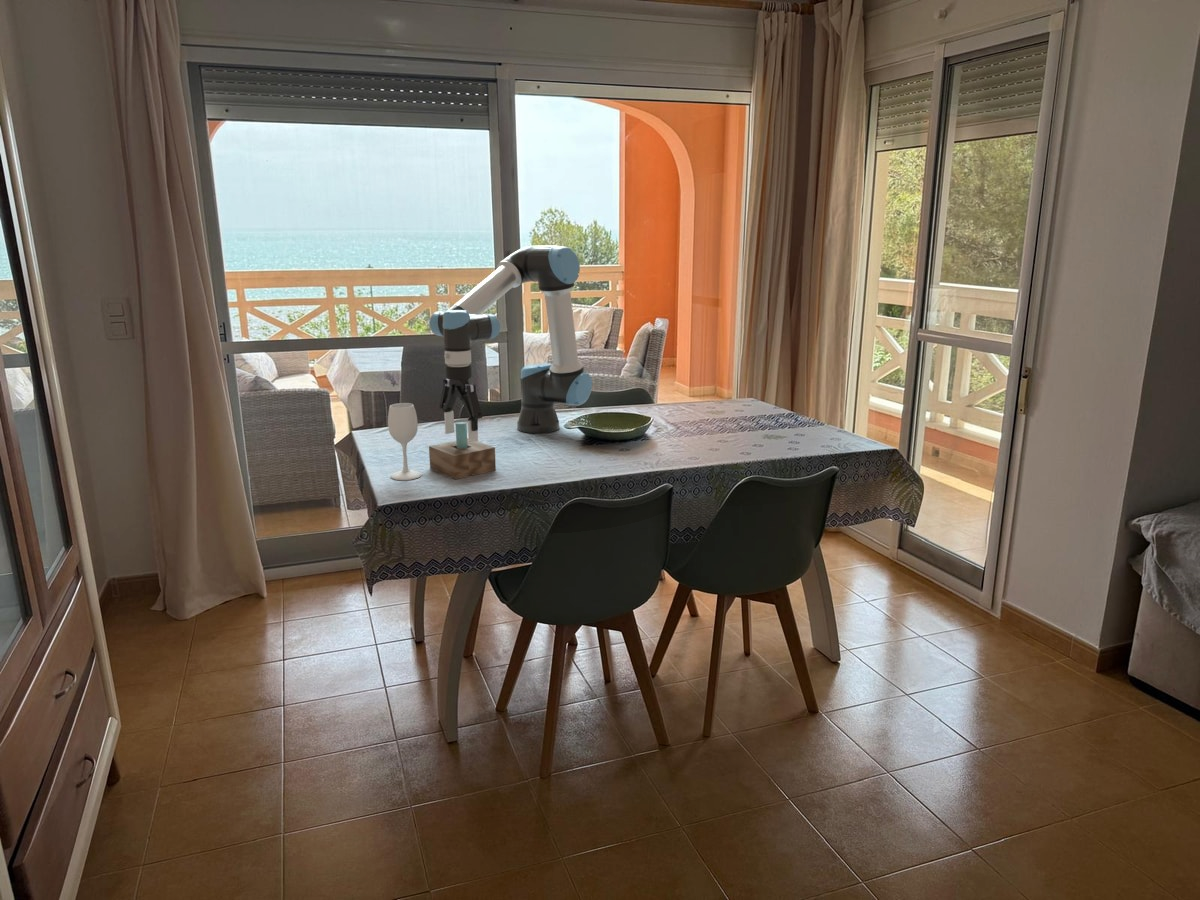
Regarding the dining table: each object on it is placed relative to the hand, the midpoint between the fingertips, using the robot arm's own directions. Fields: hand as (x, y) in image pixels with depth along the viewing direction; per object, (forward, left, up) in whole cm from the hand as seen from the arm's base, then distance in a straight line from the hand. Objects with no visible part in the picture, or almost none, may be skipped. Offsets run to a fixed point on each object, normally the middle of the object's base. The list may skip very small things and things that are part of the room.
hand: (461, 437), depth 236 cm
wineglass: (+16, -5, -10) cm, 20 cm away
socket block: (0, 0, -10) cm, 10 cm away
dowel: (0, 0, -8) cm, 8 cm away
